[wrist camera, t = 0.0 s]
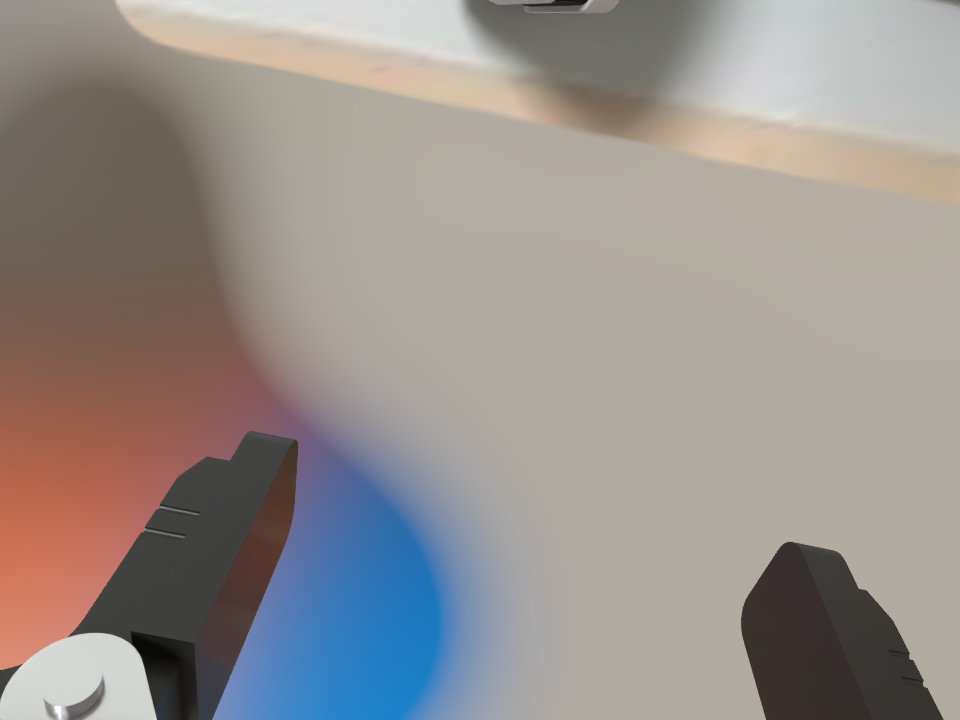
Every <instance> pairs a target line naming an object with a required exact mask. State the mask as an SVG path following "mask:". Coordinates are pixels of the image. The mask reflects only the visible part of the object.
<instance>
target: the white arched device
mask: <svg viewBox="0 0 960 720" xmlns="http://www.w3.org/2000/svg"><path fill="white" fill-rule="evenodd" d="M489 1H491V2H493V3H495V4H496V5H512V4H521V5H525V8H524V12H527V13H608V12H610V11H611V10H613V9H614V8H615V7H616V5H617V4H618V3H619V1H620V0H489Z"/></svg>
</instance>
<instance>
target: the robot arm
mask: <svg viewBox="0 0 960 720" xmlns="http://www.w3.org/2000/svg"><path fill="white" fill-rule="evenodd" d="M297 457H298V442H297V440H293V439H289V438H283V437H279V436H274V435H269V434H264V433H259V432H254V431H249V432H248V433H247V434H246V435H245V437H244V438H243V440H242V442H241V443H240V445H239V446H238V448H237V450H236V452H235V453H234V455H233V457H232V459H231V460H230V461H227V460H222V459H217V458H212V457H206V458H204V459H203V460H201V461H200V462H199V463H197V464H196V465H194V466H193V467H192V468H190V469H189V470H187V471H186V472H185V473H183V474H182V475H180V476H179V477H178V478H177V479H176V481H175V482H174V484H173V485H172V487H171V488H170V490H169V491H168V493H167V494H166V496H165V497H164V499H163V500H162V502H161V504H160V507H159V509H158V510H156V511H155V512H154V514H153V515H152V517H151V519H150V520H149V521H148V523H147V524H146V526H145V530H144V532H143V533H141V534H140V535H139V537H138V538H137V539H136V541H135V542H134V544H133V545H132V547H131V548H130V550H129V552H128V553H127V555H126V556H125V558H124V559H123V561H122V562H121V564H120V565H119V567H118V568H117V570H116V571H115V573H114V574H113V576H112V577H111V579H110V580H109V582H108V583H107V585H106V586H105V588H104V589H103V591H102V592H101V594H100V595H99V597H98V598H97V600H96V601H95V603H94V604H93V606H92V607H91V609H90V610H89V612H88V613H87V615H86V616H85V618H84V619H83V620H82V622H81V623H80V624H79V626H78V627H77V628H76V629H75V630H74V632H72V633H71V634H70V635H69V636H68V637H67V638H65V639H62V640H60V641H57V642H55V643H53V644H51V645H49V646H47V647H45V648H43V649H42V650H41V651H39V652H37V653H36V654H35V655H33V656H32V657H31V658H29V659H28V660H27V661H26V662H25V663H24V664H21V665H19V666H15V667H12V668H9V669H5V670H0V720H212V719H213V716H214V714H215V711H216V709H217V707H218V704H219V702H220V699H221V697H222V695H223V692H224V690H225V687H226V685H227V682H228V680H229V678H230V675H231V673H232V671H233V667H234V665H235V663H236V661H237V659H238V656H239V654H240V651H241V649H242V647H243V644H244V642H245V639H246V637H247V635H248V632H249V630H250V627H251V625H252V622H253V620H254V618H255V615H256V613H257V610H258V608H259V605H260V603H261V601H262V598H263V596H264V594H265V591H266V589H267V587H268V584H269V582H270V579H271V577H272V575H273V572H274V570H275V567H276V565H277V562H278V560H279V558H280V555H281V553H282V551H283V548H284V546H285V543H286V540H287V537H288V534H289V531H290V527H291V523H292V518H293V513H294V504H295V489H296V473H297ZM741 630H742V636H743V640H744V644H745V647H746V651H747V654H748V657H749V661H750V664H751V668H752V671H753V675H754V679H755V682H756V686H757V689H758V693H759V696H760V700H761V703H762V707H763V710H764V714H765V717H766V720H943V718H942V716H941V714H940V712H939V710H938V708H937V706H936V704H935V702H934V700H933V698H932V696H931V694H930V692H929V690H928V688H926V687H923V679H922V677H921V675H920V673H919V671H918V669H917V667H916V665H915V663H914V661H913V660H910V659H909V654H910V653H909V651H908V649H907V647H906V645H905V643H904V641H903V639H902V637H901V635H900V633H899V632H898V629H897V627H896V626H895V624H894V622H893V620H892V619H891V618H890V617H889V616H888V615H887V613H886V612H885V611H884V610H883V609H882V608H881V606H880V605H879V604H878V603H877V602H876V601H875V600H874V598H873V597H872V596H871V595H870V594H869V593H868V592H867V591H866V590H861V589H859V588H858V587H857V584H856V582H855V580H854V578H853V576H852V574H851V572H850V570H849V568H848V566H847V564H846V562H845V560H844V558H843V557H842V556H841V554H839V553H838V552H836V551H833V550H829V549H823V548H819V547H814V546H809V545H804V544H798V543H794V542H787V543H785V544H783V545H782V546H781V547H780V548H779V550H778V551H777V553H776V554H775V556H774V557H773V559H772V560H771V562H770V564H769V565H768V567H767V568H766V569H765V571H764V572H763V574H762V576H761V577H760V578H759V580H758V582H757V583H756V585H755V586H754V588H753V589H752V591H751V592H750V594H749V595H748V597H747V599H746V601H745V603H744V606H743V610H742V617H741Z"/></svg>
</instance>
